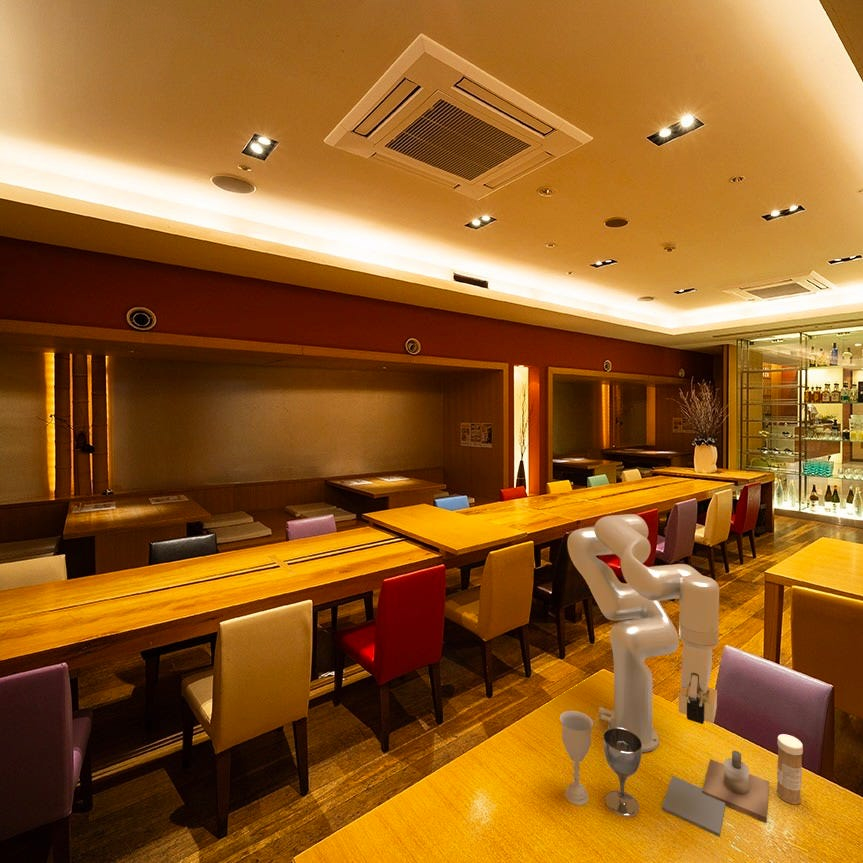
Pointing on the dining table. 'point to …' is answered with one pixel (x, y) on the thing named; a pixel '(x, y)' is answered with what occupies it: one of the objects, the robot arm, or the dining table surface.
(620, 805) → the wine glass
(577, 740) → the chalice
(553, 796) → the dining table surface
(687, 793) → the mat
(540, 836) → the dining table surface
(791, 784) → the sprinkles bottle
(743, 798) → the stand
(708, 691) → the c link
